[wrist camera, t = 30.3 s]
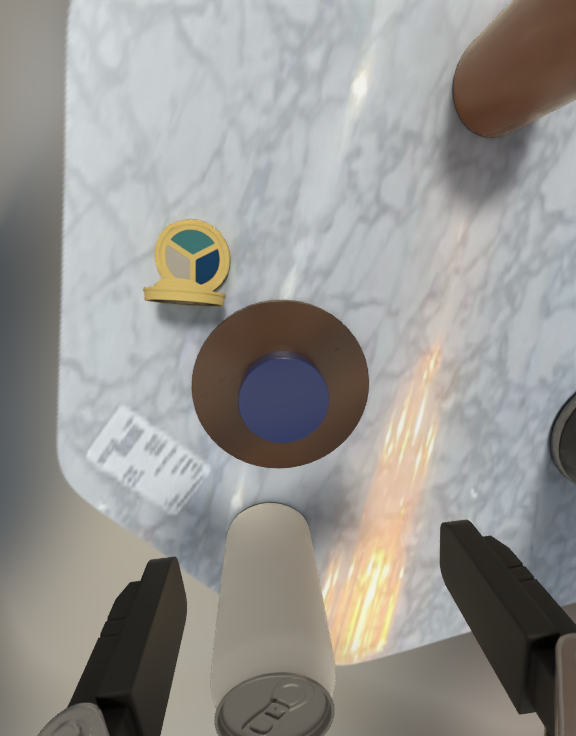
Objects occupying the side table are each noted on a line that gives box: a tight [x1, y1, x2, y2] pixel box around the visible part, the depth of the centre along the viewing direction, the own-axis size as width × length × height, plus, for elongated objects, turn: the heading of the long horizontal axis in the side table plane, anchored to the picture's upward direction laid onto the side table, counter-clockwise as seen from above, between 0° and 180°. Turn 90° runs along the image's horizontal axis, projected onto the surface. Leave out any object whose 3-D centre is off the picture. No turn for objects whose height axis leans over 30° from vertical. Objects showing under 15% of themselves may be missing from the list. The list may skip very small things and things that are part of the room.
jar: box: [453, 0, 576, 137], centre depth 16 cm, size 5×5×11 cm
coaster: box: [192, 300, 369, 468], centre depth 25 cm, size 12×12×1 cm
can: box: [210, 503, 336, 736], centre depth 23 cm, size 6×6×12 cm
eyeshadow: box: [143, 220, 230, 307], centre depth 20 cm, size 4×5×5 cm
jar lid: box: [238, 351, 329, 443], centre depth 24 cm, size 6×6×2 cm
